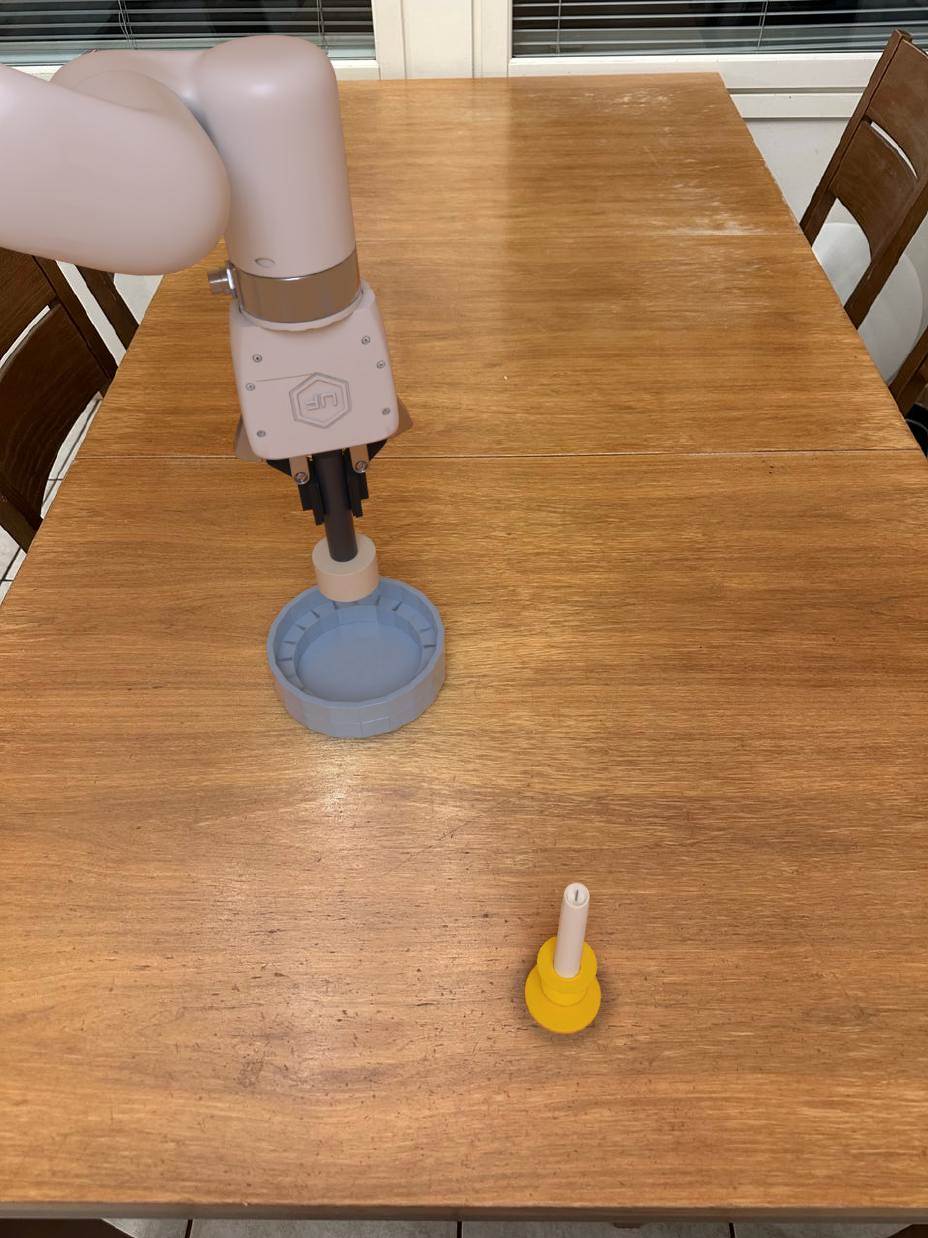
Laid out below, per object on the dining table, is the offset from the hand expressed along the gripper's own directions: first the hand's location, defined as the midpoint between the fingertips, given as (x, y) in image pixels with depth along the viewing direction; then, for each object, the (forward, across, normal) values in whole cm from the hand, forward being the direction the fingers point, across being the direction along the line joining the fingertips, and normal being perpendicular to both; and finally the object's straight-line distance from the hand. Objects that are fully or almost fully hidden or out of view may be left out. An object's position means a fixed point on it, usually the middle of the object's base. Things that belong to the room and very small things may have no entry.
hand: (336, 507), depth 70 cm
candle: (+20, +8, -32) cm, 38 cm away
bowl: (+20, 0, 0) cm, 20 cm away
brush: (+8, 0, 0) cm, 8 cm away
